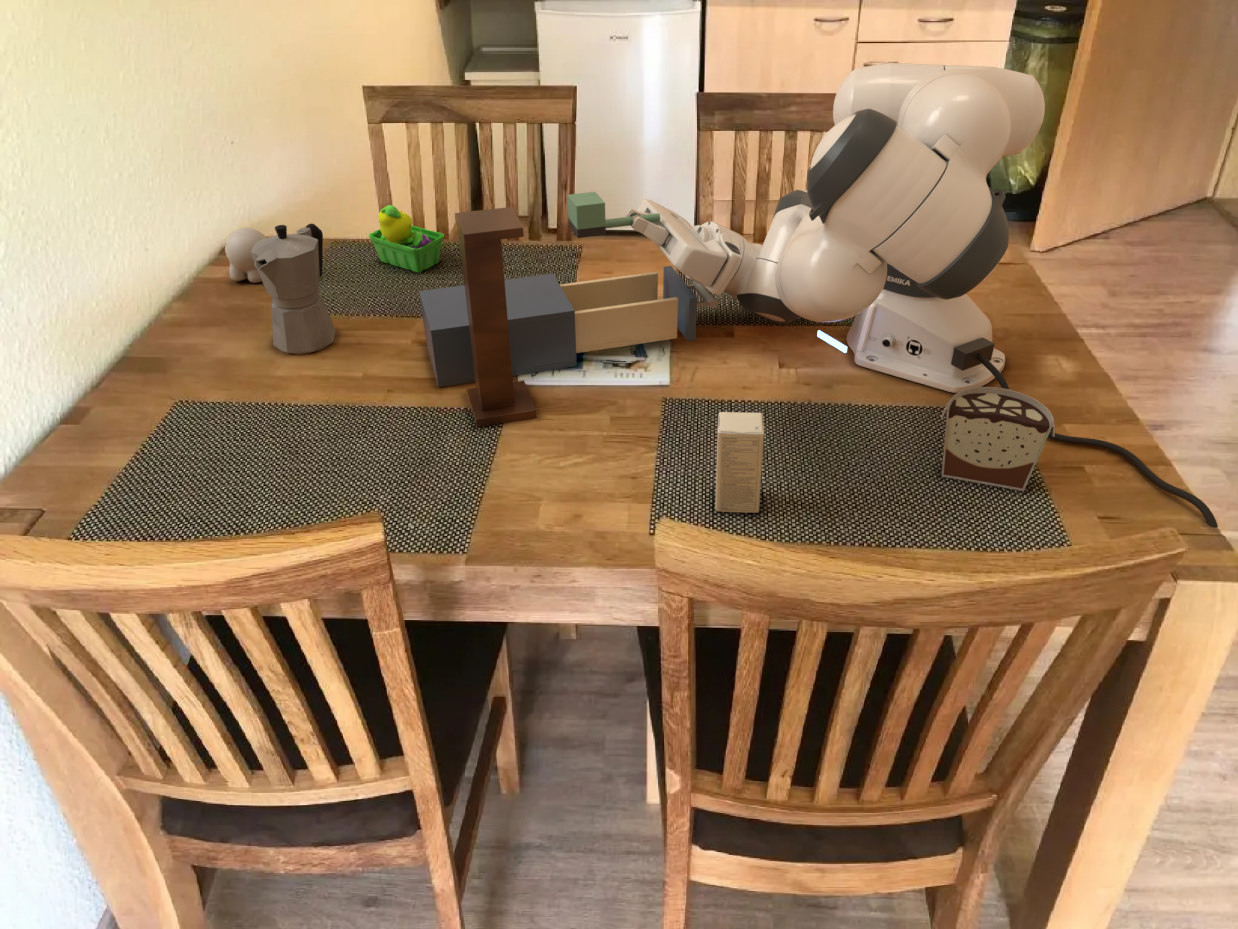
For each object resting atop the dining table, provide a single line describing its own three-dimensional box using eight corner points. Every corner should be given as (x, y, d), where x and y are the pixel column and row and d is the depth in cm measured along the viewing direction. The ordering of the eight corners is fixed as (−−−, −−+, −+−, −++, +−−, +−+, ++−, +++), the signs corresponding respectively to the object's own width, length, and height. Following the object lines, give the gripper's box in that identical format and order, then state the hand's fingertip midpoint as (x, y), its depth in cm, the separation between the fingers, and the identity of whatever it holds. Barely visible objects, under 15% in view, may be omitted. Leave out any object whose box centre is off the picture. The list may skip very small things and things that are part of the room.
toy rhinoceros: (293, 289, 161) (282, 240, 156) (224, 285, 163) (212, 236, 158) (310, 271, 167) (300, 223, 162) (244, 267, 168) (232, 220, 164)
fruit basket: (449, 261, 170) (442, 198, 163) (415, 280, 164) (406, 215, 157) (400, 248, 175) (391, 186, 168) (365, 265, 169) (354, 202, 162)
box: (758, 491, 115) (765, 412, 108) (759, 514, 111) (766, 433, 105) (713, 489, 115) (718, 410, 109) (712, 512, 112) (717, 431, 105)
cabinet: (556, 326, 149) (553, 273, 144) (576, 366, 139) (574, 310, 134) (426, 345, 145) (418, 290, 140) (438, 387, 135) (430, 330, 130)
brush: (577, 238, 132) (576, 205, 130) (568, 226, 136) (567, 194, 134) (664, 227, 135) (665, 195, 133) (653, 215, 139) (653, 184, 137)
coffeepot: (308, 365, 140) (282, 247, 130) (252, 356, 143) (222, 239, 132) (362, 318, 152) (342, 206, 142) (310, 310, 155) (286, 200, 144)
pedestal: (524, 387, 135) (510, 204, 120) (537, 417, 128) (524, 228, 113) (466, 396, 133) (445, 212, 118) (476, 427, 127) (455, 236, 111)
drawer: (695, 303, 153) (697, 262, 149) (722, 336, 144) (725, 293, 140) (554, 323, 148) (551, 281, 144) (572, 358, 139) (571, 315, 135)
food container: (1037, 464, 119) (1058, 394, 113) (1037, 493, 114) (1059, 421, 108) (932, 446, 122) (947, 377, 116) (928, 474, 117) (943, 403, 111)
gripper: (695, 210, 149) (619, 173, 143) (747, 261, 133) (664, 223, 127) (675, 246, 152) (600, 212, 145) (723, 301, 136) (641, 265, 129)
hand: (630, 217), depth 136 cm, fingers closed on brush
